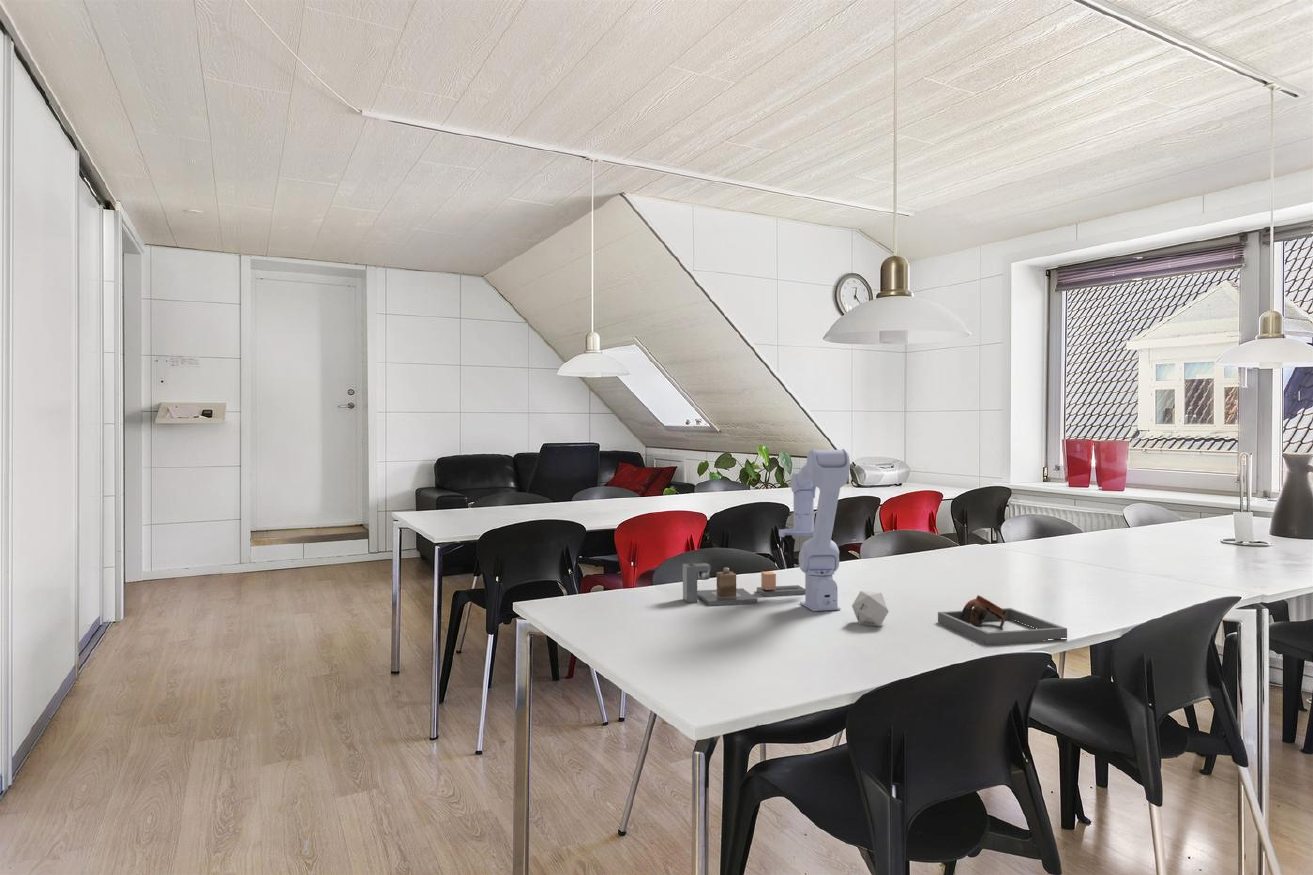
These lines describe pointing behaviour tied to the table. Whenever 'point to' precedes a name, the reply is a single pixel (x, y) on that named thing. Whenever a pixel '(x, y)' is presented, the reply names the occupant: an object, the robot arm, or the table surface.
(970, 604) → the brown arched piece
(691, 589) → the press
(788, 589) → the base
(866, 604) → the die
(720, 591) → the block
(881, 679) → the table surface
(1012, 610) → the tray
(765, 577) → the peach small block
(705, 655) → the table surface
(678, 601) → the table surface
